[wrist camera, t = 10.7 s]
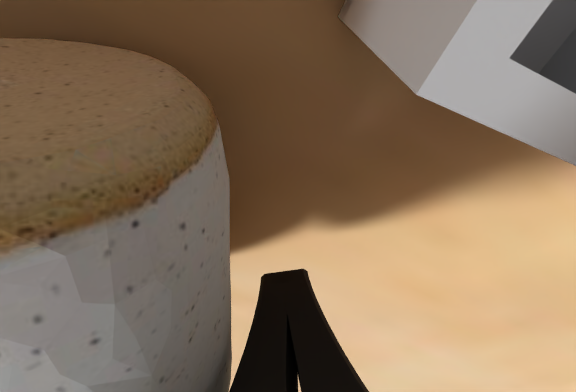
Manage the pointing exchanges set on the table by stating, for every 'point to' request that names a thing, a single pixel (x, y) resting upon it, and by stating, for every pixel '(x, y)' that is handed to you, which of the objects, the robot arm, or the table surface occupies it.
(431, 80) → the slate pot
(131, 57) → the ceramic mug
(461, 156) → the table surface
